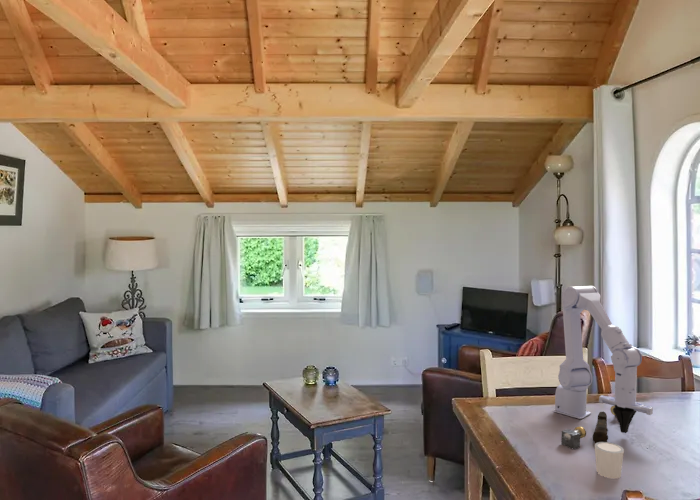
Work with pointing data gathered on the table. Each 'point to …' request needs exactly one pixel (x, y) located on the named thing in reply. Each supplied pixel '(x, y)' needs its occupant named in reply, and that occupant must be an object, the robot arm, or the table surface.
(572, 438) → the grey metal fitting
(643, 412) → the robot arm
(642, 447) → the table surface
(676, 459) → the table surface
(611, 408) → the grey block with knob
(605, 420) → the hand tool
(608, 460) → the cream cylinder
